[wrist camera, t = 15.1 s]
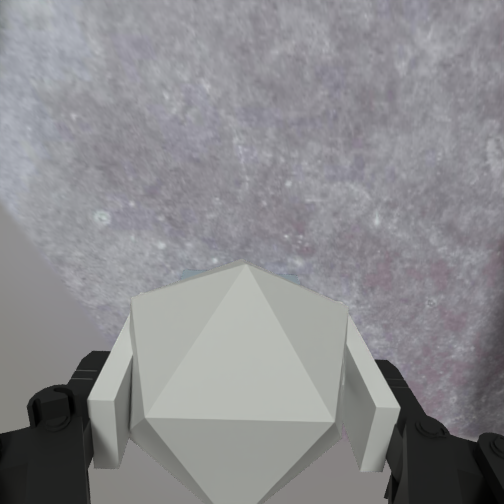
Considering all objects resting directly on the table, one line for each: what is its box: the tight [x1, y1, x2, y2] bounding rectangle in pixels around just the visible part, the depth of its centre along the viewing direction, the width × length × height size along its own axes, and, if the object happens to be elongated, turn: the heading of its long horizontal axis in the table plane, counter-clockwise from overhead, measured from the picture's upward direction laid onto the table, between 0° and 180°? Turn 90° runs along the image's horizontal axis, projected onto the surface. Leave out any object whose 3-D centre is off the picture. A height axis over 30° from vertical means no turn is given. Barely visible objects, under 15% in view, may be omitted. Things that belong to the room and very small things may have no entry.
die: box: [129, 259, 349, 504], centre depth 14 cm, size 8×9×10 cm
